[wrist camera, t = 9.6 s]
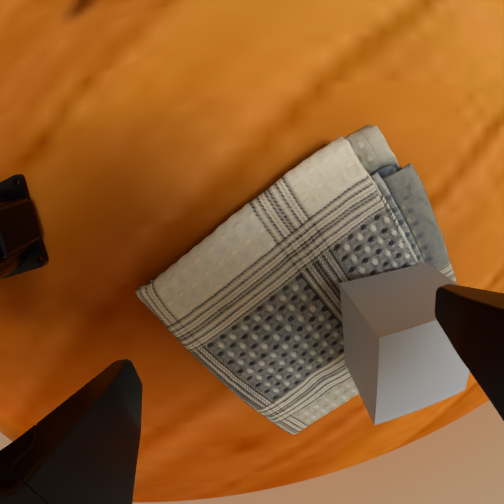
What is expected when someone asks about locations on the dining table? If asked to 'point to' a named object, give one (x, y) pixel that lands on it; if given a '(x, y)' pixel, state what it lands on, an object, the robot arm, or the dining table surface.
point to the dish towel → (297, 276)
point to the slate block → (399, 342)
